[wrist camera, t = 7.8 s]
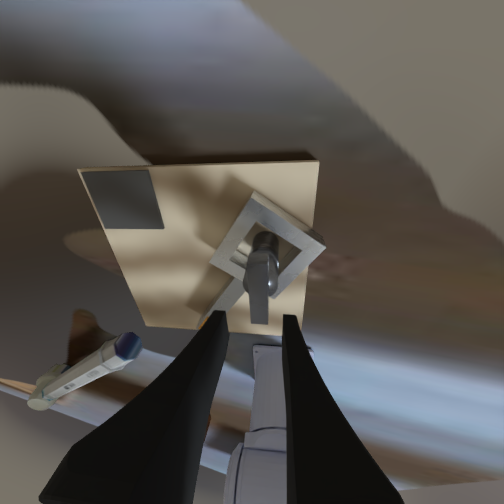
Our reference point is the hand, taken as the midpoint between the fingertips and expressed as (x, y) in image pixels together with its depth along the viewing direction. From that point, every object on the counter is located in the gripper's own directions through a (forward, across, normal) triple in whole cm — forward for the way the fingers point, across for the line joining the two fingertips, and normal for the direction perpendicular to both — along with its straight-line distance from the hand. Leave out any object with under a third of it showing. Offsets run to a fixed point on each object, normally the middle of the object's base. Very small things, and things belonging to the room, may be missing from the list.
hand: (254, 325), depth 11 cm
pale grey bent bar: (+11, +30, +23) cm, 39 cm away
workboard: (+10, +6, +3) cm, 12 cm away
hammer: (+9, 0, 0) cm, 9 cm away
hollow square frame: (+9, +3, +4) cm, 10 cm away
